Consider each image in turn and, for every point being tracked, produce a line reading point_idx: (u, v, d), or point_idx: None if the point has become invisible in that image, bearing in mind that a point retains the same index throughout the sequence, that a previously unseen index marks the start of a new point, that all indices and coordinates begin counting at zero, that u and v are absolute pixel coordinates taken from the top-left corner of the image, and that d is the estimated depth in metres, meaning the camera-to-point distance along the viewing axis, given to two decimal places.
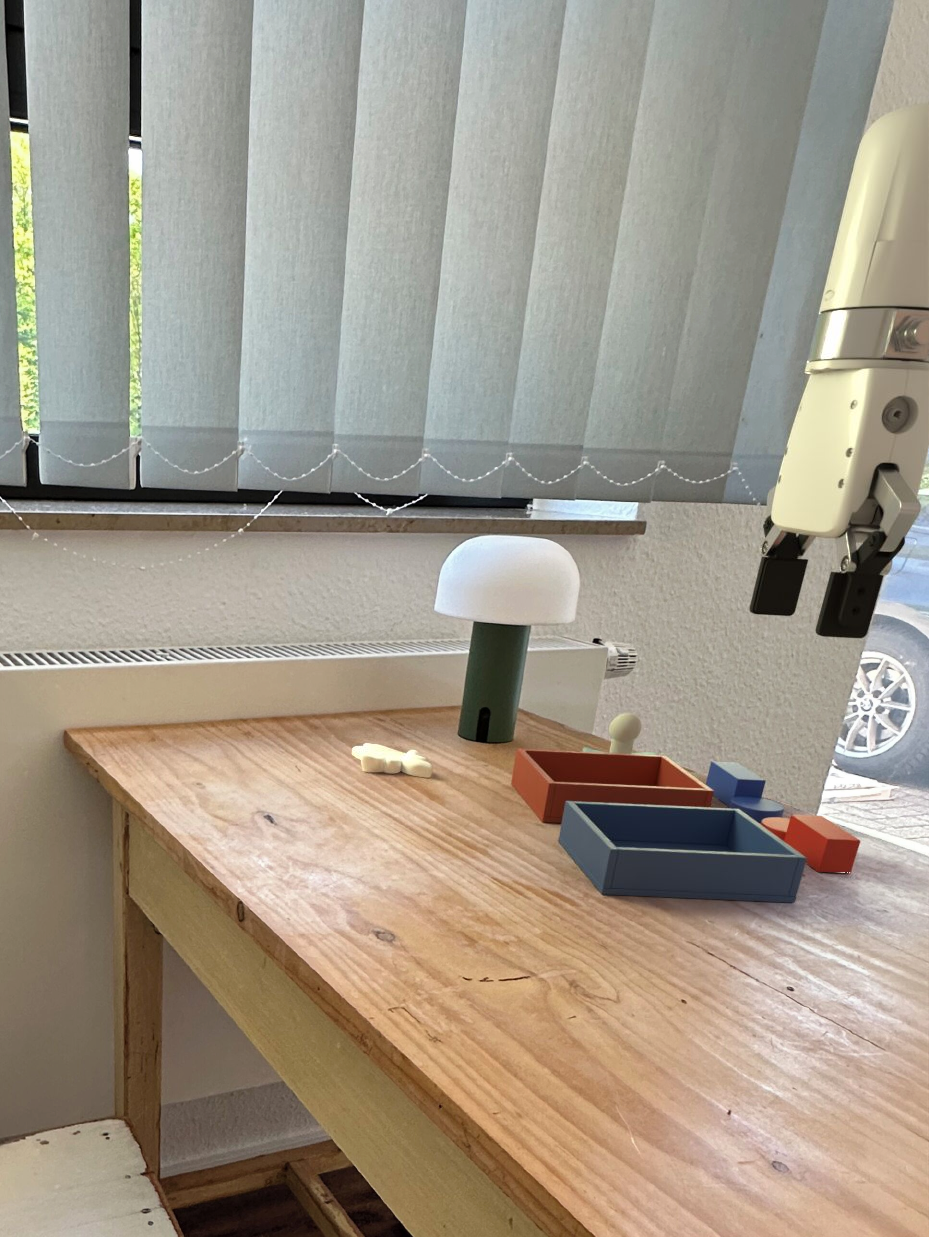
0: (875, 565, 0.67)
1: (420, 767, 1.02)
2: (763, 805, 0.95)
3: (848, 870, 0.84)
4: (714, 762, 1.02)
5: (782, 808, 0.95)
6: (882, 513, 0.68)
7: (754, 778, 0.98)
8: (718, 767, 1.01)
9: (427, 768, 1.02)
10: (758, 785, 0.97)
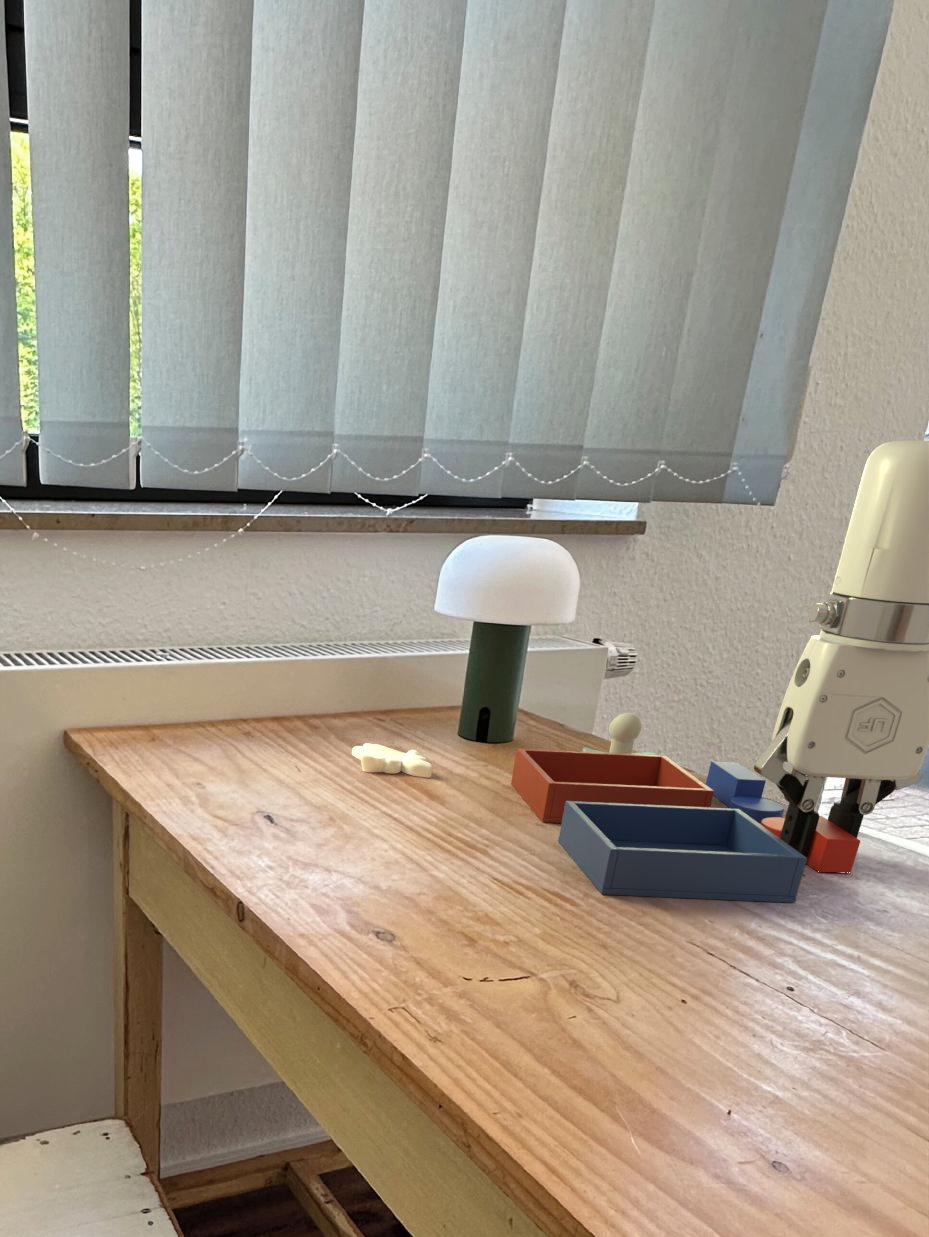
0: (789, 799, 0.85)
1: (420, 767, 1.02)
2: (763, 805, 0.95)
3: (848, 870, 0.84)
4: (714, 762, 1.02)
5: (782, 808, 0.95)
6: None
7: (754, 778, 0.98)
8: (718, 767, 1.01)
9: (427, 768, 1.02)
10: (758, 785, 0.97)
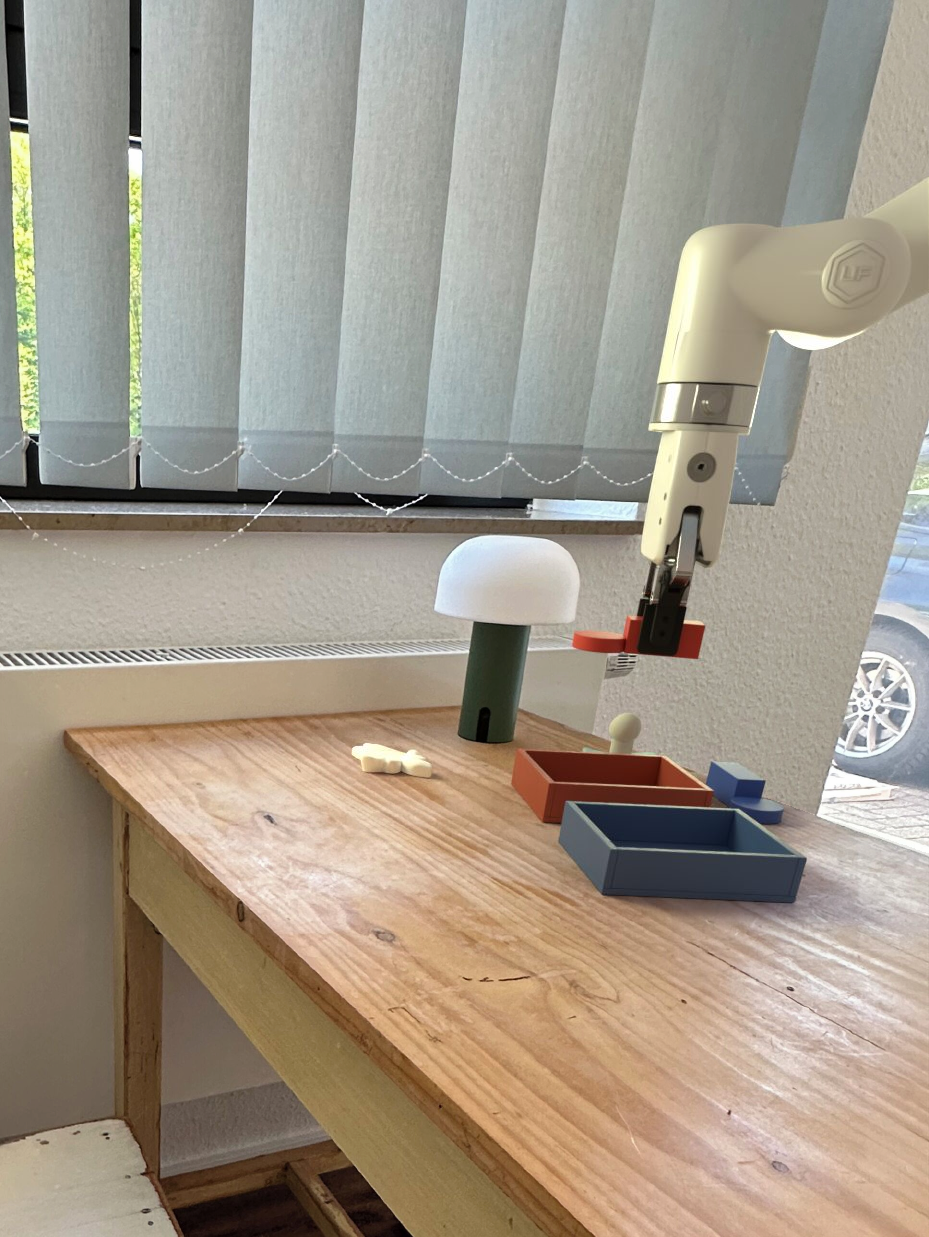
0: (672, 599, 0.86)
1: (420, 767, 1.02)
2: (763, 805, 0.95)
3: None
4: (714, 762, 1.02)
5: (782, 808, 0.95)
6: (694, 555, 0.85)
7: (754, 778, 0.98)
8: (718, 767, 1.01)
9: (427, 768, 1.02)
10: (758, 785, 0.97)
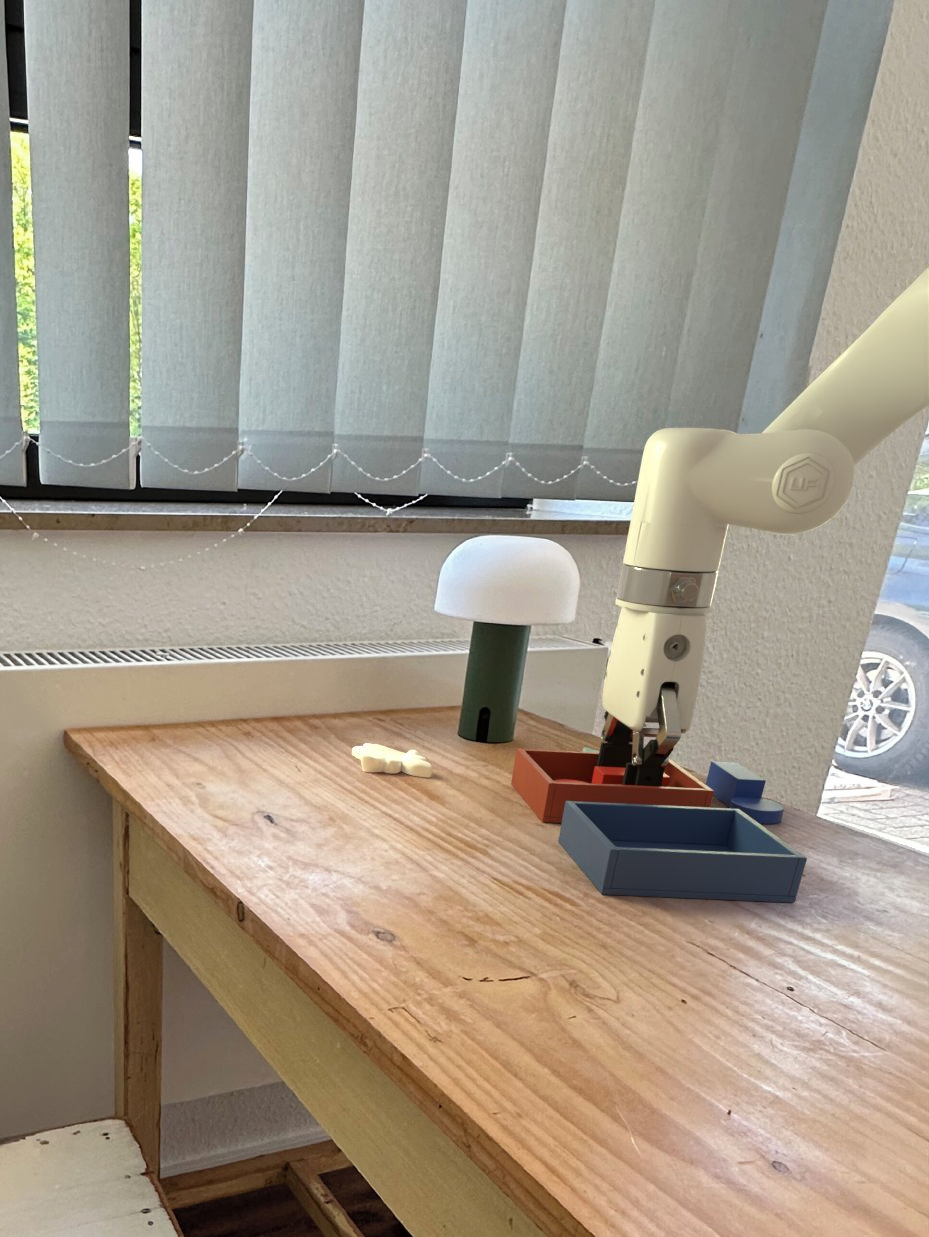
0: (655, 762, 0.90)
1: (420, 767, 1.02)
2: (763, 805, 0.95)
3: None
4: (714, 762, 1.02)
5: (782, 808, 0.95)
6: None
7: (754, 778, 0.98)
8: (718, 767, 1.01)
9: (427, 768, 1.02)
10: (758, 785, 0.97)
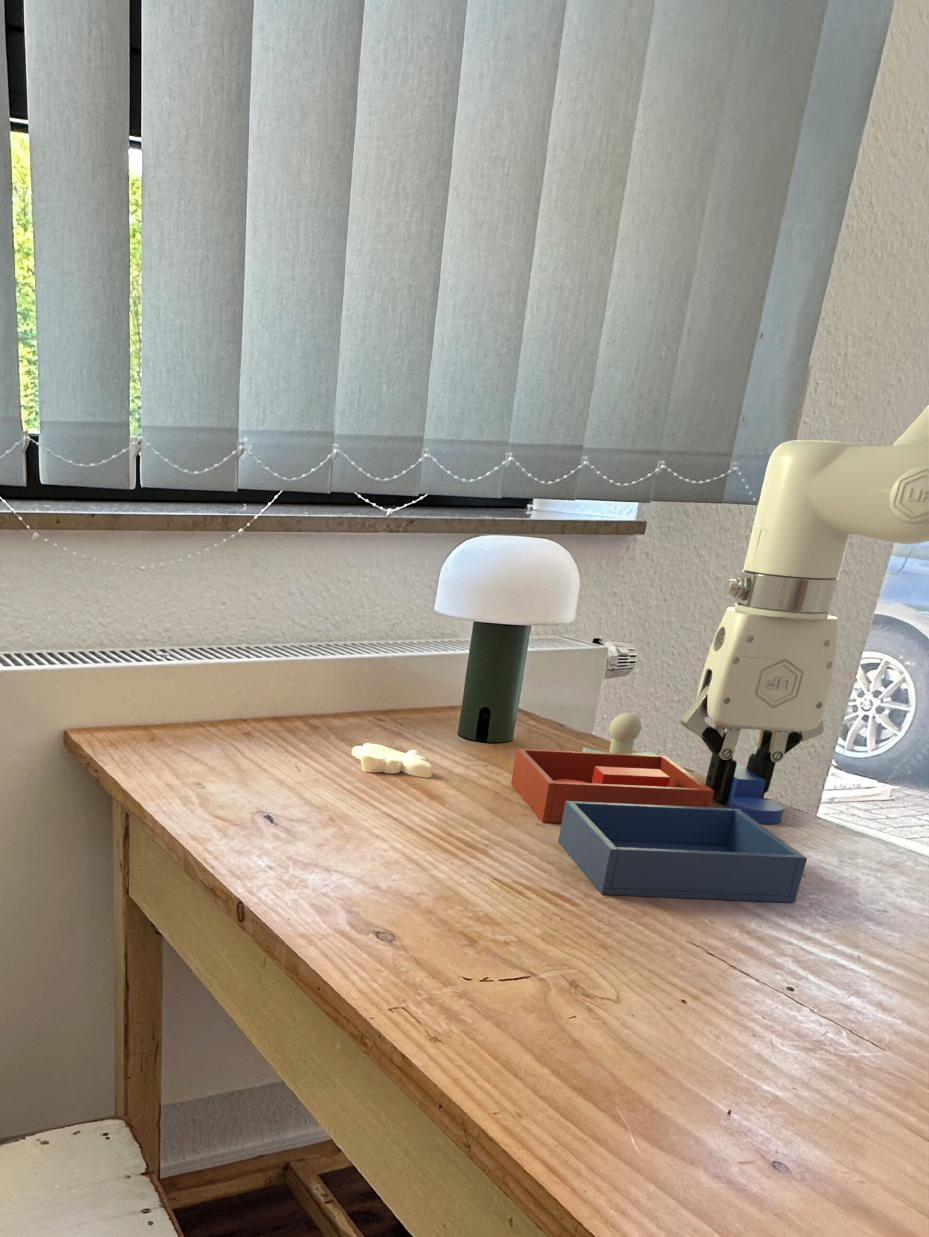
0: (711, 749, 0.98)
1: (420, 767, 1.02)
2: (763, 805, 0.95)
3: None
4: None
5: (782, 808, 0.95)
6: None
7: (754, 778, 0.98)
8: None
9: (427, 768, 1.02)
10: (758, 785, 0.97)
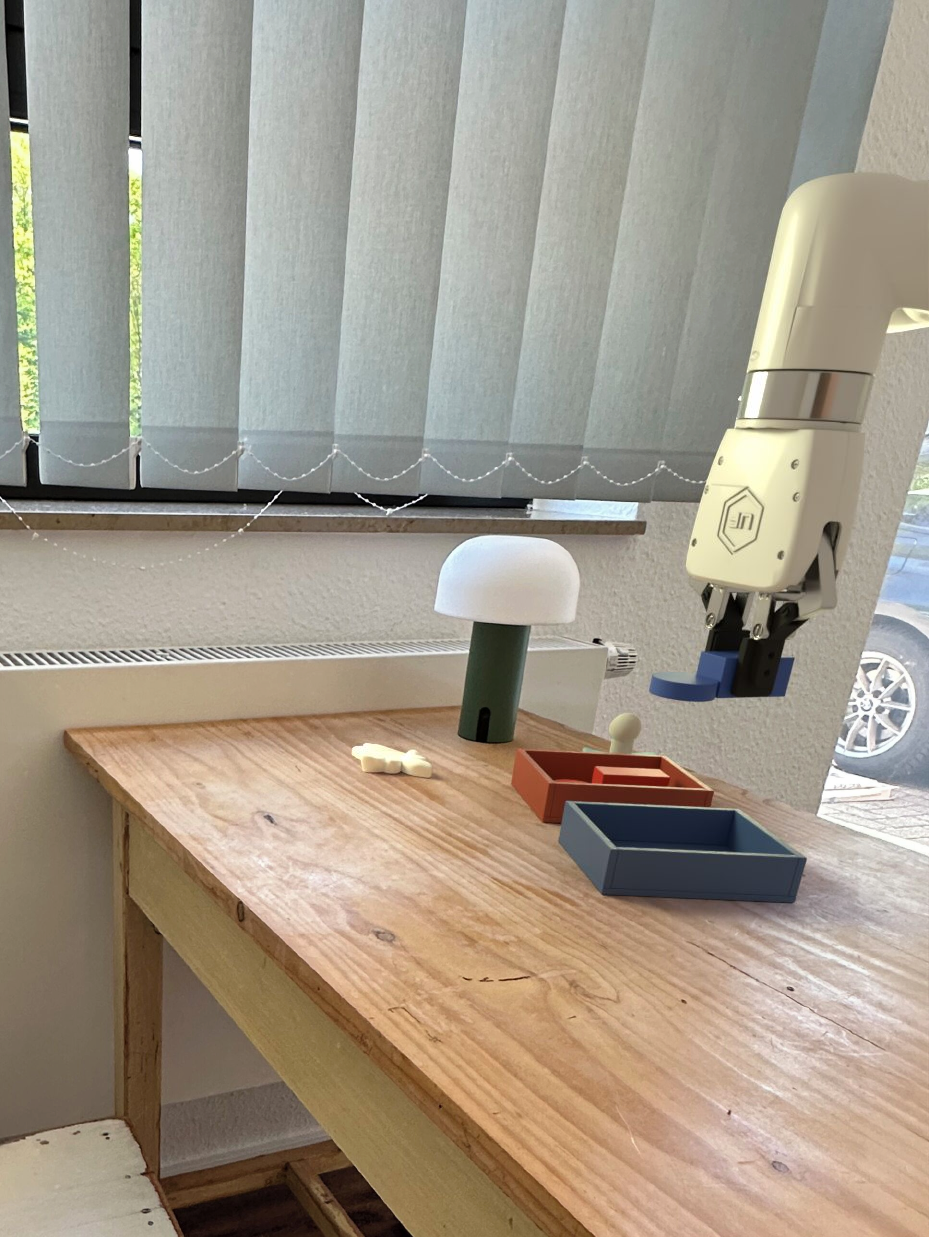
0: None
1: (420, 767, 1.02)
2: (681, 678, 0.75)
3: None
4: None
5: (687, 683, 0.73)
6: None
7: (724, 656, 0.75)
8: None
9: (427, 768, 1.02)
10: (719, 663, 0.75)
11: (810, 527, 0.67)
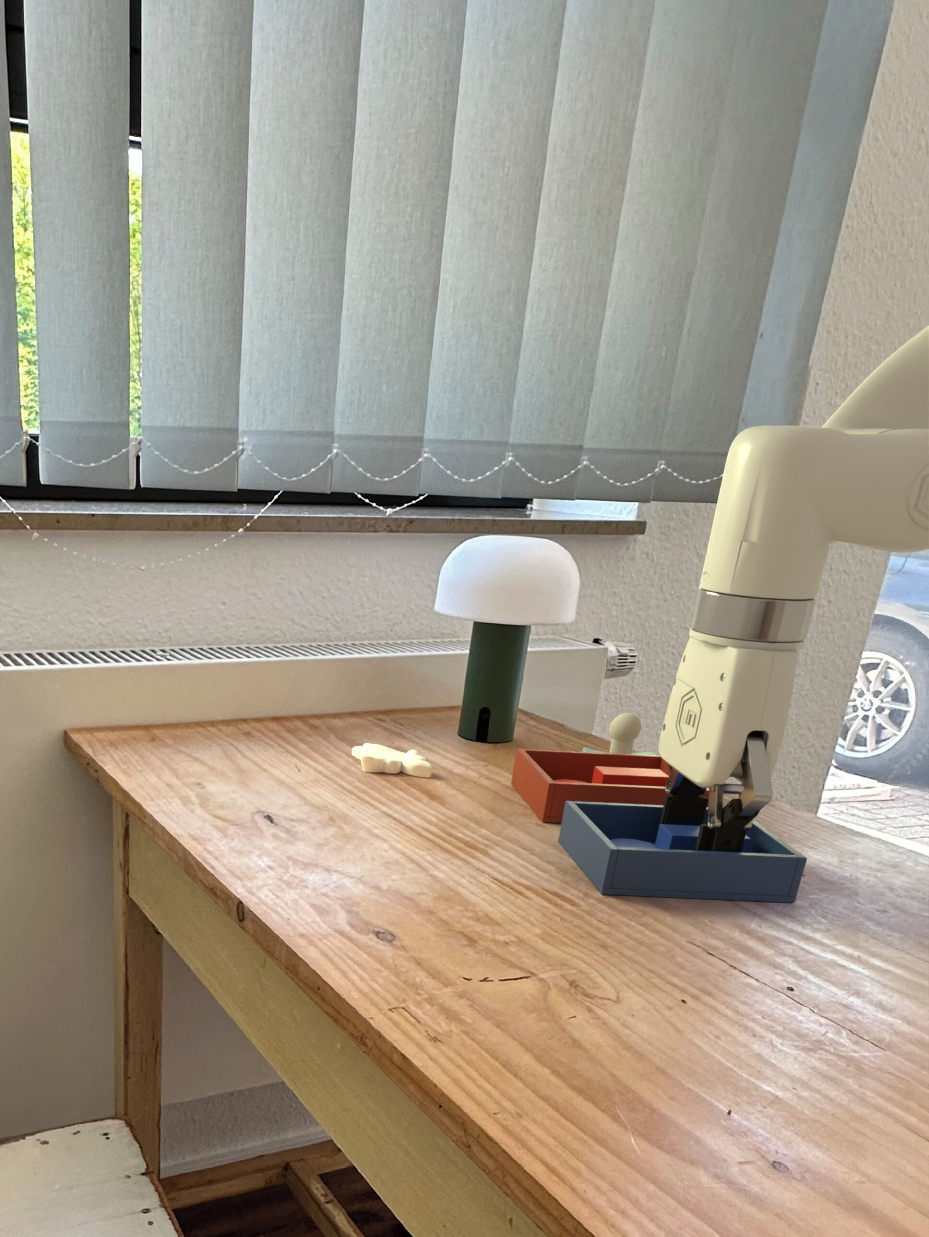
0: None
1: (420, 767, 1.02)
2: None
3: None
4: None
5: None
6: None
7: (675, 832, 0.81)
8: None
9: (427, 768, 1.02)
10: (667, 838, 0.81)
11: (732, 735, 0.73)
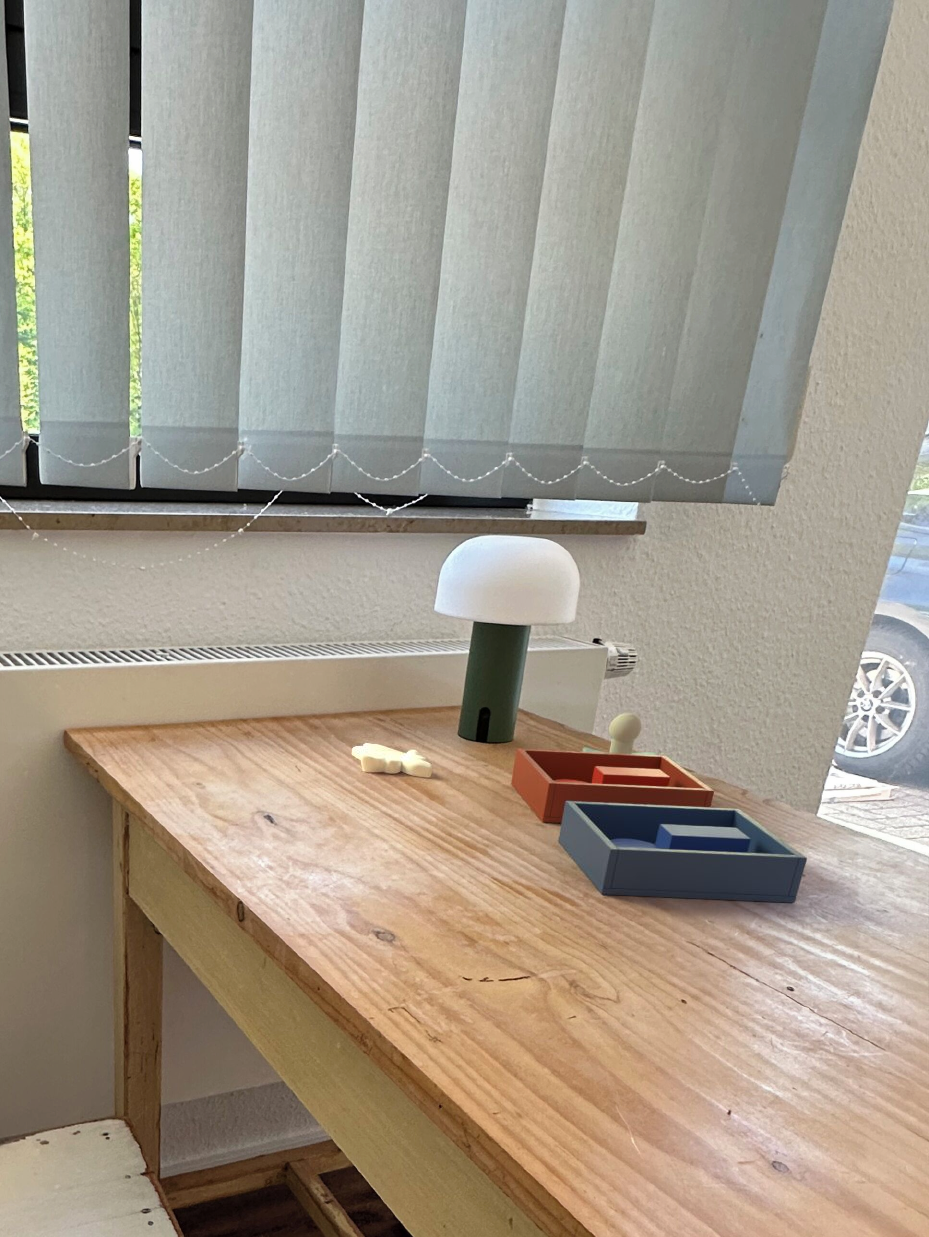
0: None
1: (420, 767, 1.02)
2: None
3: None
4: (731, 827, 0.82)
5: None
6: None
7: (675, 832, 0.81)
8: None
9: (427, 768, 1.02)
10: (667, 838, 0.81)
11: None
